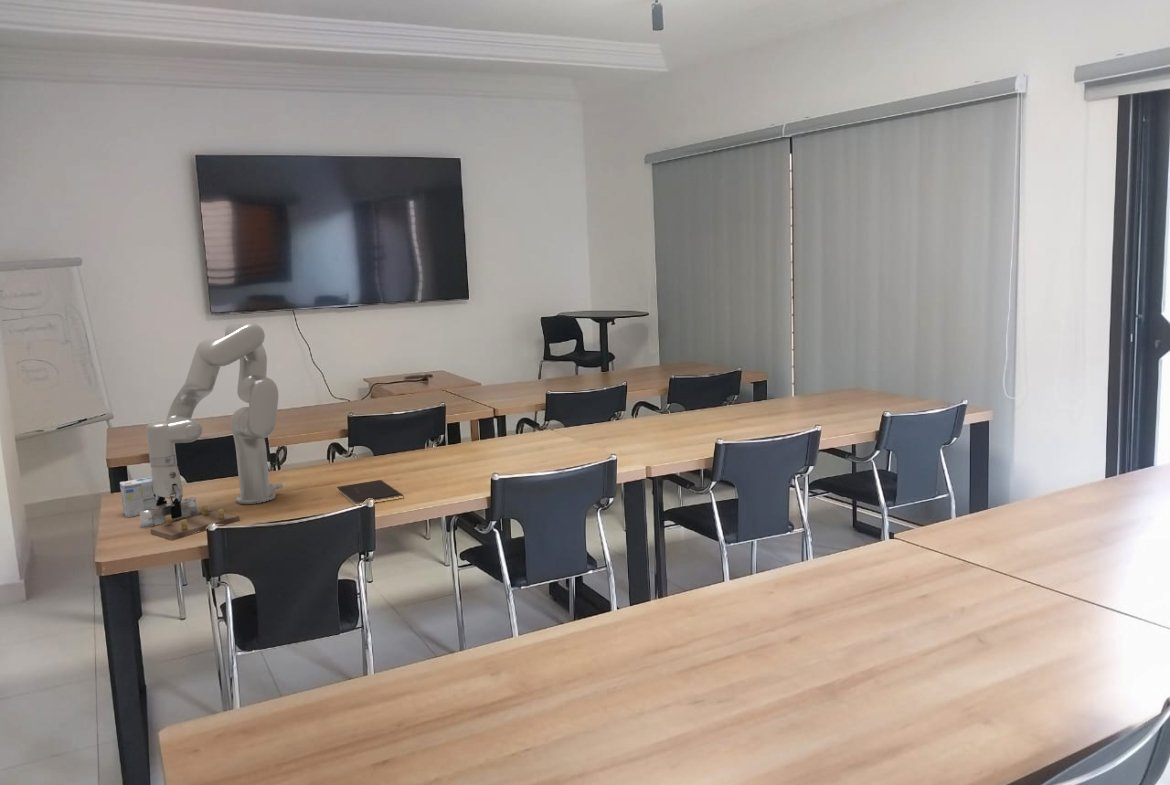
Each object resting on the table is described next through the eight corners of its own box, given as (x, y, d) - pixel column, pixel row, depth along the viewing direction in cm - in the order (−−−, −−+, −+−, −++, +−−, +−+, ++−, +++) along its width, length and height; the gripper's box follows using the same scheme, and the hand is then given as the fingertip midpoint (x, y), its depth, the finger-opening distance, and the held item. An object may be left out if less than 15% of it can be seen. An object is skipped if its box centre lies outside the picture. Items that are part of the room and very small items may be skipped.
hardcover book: (355, 508, 285) (355, 501, 285) (337, 493, 305) (336, 486, 305) (403, 500, 293) (403, 493, 293) (382, 485, 313) (382, 479, 312)
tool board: (218, 514, 282) (216, 501, 282) (239, 520, 275) (238, 506, 275) (150, 533, 265) (149, 519, 264) (172, 540, 258) (170, 525, 257)
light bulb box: (157, 506, 295) (154, 475, 293) (162, 510, 290) (159, 479, 288) (122, 513, 288) (118, 481, 287) (127, 517, 283) (123, 485, 281)
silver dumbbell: (193, 511, 287) (191, 496, 287) (200, 513, 285) (198, 498, 284) (138, 526, 273) (136, 510, 272) (145, 528, 271) (143, 512, 270)
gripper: (189, 461, 274) (195, 516, 277) (160, 455, 284) (166, 508, 287) (166, 466, 268) (172, 522, 271) (137, 460, 278) (143, 514, 281)
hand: (169, 515), depth 279 cm, fingers open, 7 cm apart
